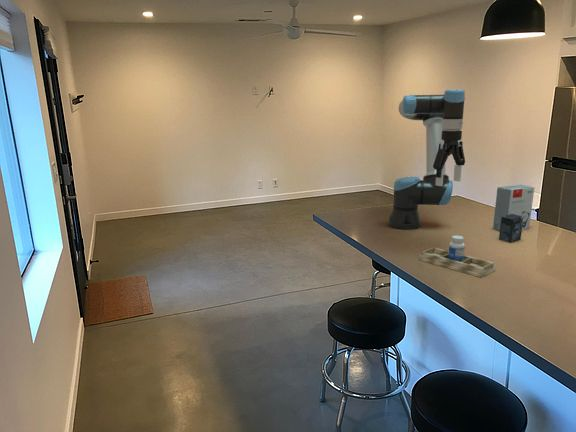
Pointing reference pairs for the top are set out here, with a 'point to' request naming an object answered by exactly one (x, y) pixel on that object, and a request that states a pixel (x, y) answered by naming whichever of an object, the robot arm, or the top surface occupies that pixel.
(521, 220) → the box
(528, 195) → the hard drive box
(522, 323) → the top surface
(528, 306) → the top surface
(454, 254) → the pill bottle
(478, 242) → the top surface
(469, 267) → the three-compartment tray
